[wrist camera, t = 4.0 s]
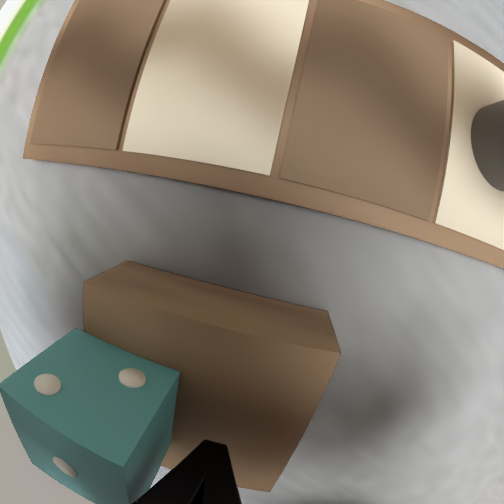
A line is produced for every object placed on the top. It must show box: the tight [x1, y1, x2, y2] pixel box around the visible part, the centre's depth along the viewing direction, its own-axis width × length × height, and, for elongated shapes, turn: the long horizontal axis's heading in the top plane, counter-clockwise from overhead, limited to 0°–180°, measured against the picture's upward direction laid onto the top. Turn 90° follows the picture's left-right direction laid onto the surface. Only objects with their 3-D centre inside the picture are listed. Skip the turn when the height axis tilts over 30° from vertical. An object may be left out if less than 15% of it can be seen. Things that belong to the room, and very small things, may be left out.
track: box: [23, 0, 504, 269], centre depth 8 cm, size 9×23×1 cm, turn 77°
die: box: [0, 328, 180, 504], centre depth 7 cm, size 4×4×4 cm
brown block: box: [83, 261, 341, 492], centre depth 10 cm, size 8×8×3 cm
